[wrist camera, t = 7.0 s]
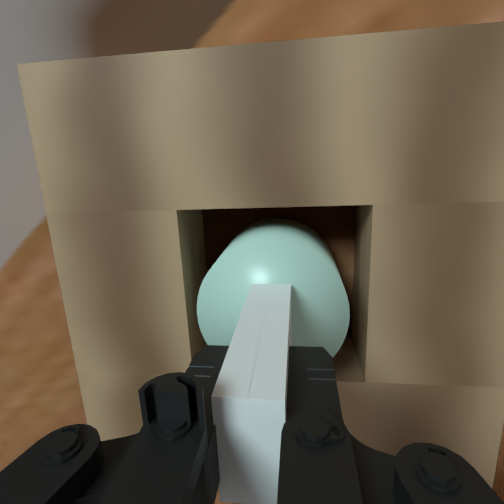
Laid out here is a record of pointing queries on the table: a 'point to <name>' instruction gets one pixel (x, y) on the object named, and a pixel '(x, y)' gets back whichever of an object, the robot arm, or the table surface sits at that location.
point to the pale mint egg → (277, 272)
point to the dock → (289, 195)
